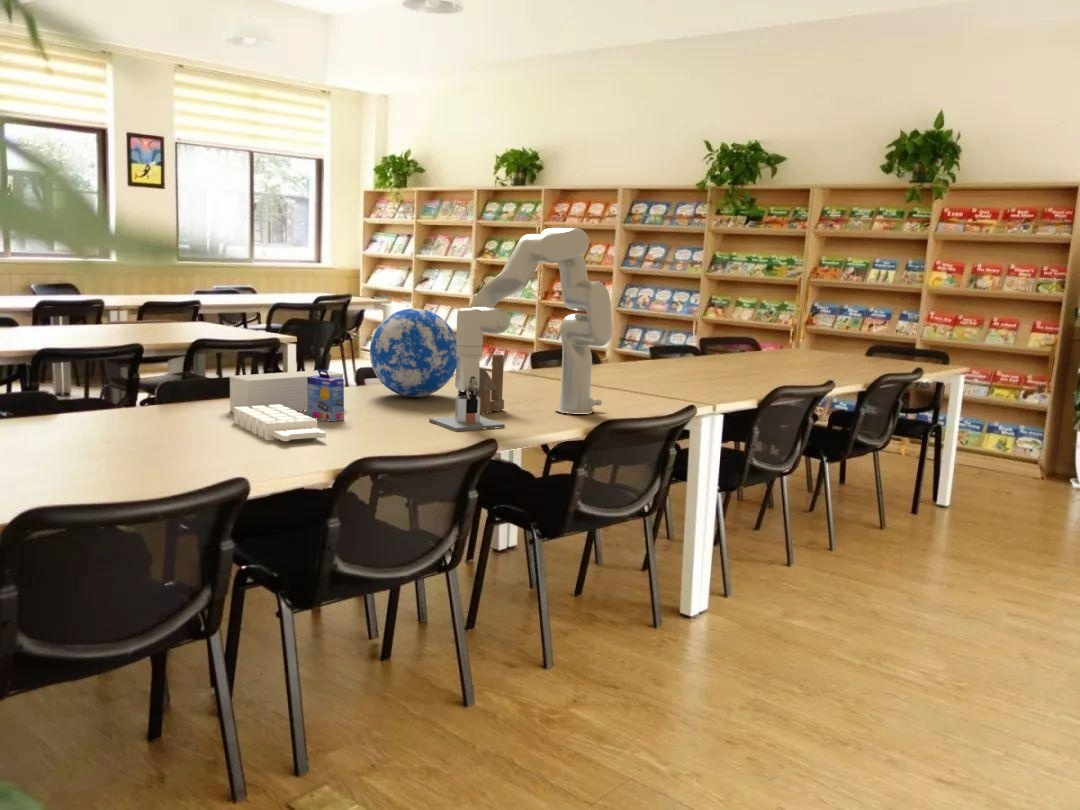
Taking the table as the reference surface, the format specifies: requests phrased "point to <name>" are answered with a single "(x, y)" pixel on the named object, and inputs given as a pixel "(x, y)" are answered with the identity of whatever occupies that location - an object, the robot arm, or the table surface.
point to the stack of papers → (272, 389)
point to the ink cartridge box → (325, 397)
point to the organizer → (277, 422)
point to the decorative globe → (413, 352)
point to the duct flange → (465, 424)
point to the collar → (461, 411)
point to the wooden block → (491, 386)
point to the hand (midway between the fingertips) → (467, 410)
